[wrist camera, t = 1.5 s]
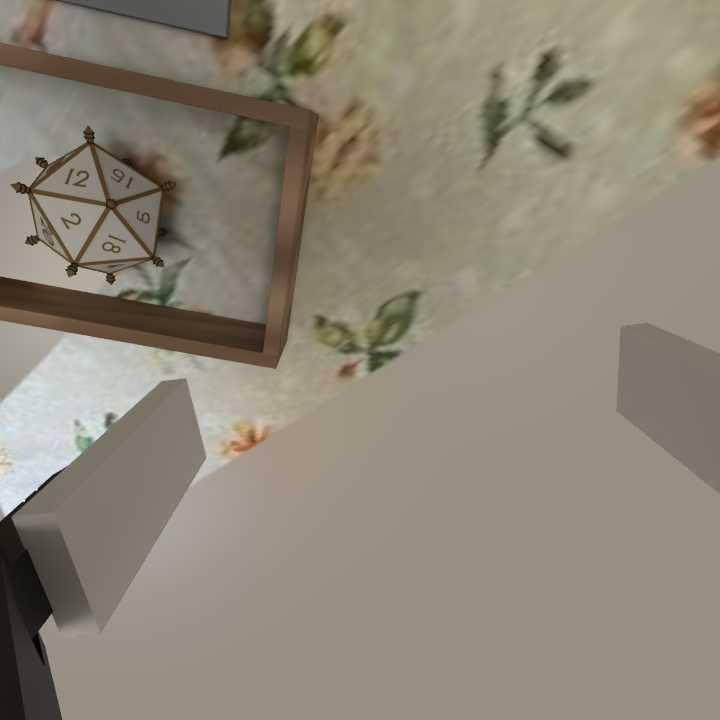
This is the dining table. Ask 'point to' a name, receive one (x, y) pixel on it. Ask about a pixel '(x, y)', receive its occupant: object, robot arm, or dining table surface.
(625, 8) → the dining table surface
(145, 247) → the game die
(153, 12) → the pad
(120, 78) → the rectangular frame
